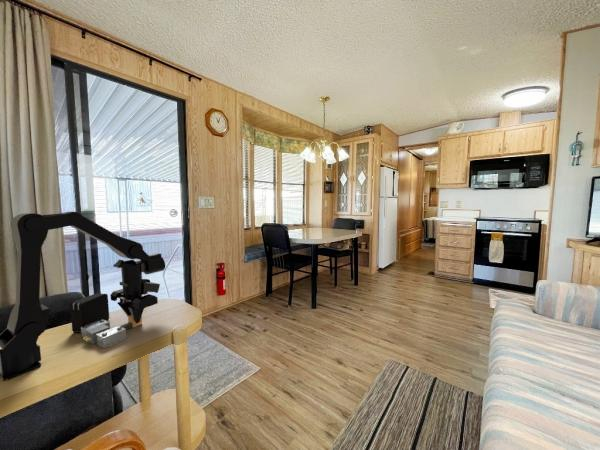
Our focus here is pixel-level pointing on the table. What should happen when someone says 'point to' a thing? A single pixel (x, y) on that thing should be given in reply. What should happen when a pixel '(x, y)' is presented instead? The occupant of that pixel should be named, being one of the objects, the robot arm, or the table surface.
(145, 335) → the table surface
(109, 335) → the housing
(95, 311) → the electronic device
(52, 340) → the table surface
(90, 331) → the orange and grey dumbbell
